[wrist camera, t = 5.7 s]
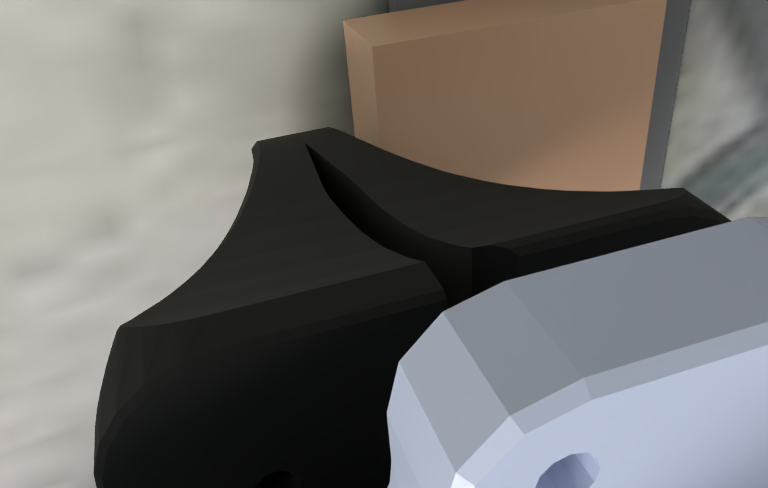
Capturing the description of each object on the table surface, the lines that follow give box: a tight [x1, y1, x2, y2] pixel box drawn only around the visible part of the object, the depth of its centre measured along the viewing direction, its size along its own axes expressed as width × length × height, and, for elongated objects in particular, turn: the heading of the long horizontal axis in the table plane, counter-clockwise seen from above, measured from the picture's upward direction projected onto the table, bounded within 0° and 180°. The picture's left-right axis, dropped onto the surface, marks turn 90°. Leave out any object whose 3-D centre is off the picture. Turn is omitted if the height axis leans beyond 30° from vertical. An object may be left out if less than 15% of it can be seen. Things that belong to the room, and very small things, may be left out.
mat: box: [388, 0, 691, 190], centre depth 14 cm, size 6×6×1 cm
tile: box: [343, 0, 667, 191], centre depth 13 cm, size 5×2×5 cm
